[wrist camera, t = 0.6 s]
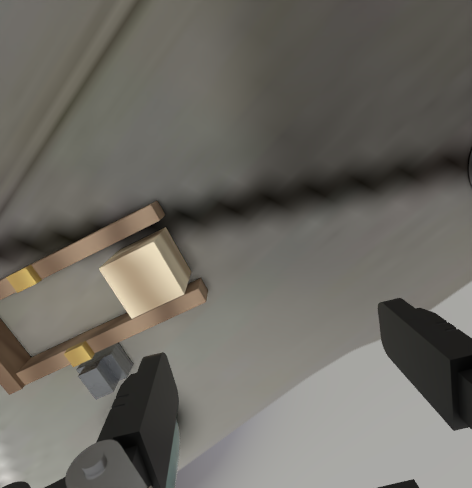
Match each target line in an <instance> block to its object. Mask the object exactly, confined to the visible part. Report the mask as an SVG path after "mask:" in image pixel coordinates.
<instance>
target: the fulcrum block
mask: <svg viewBox="0 0 472 488" xmlns="http://www.w3.org/2000/svg"><path fill="white" fill-rule="evenodd" d="M132 366H133V363H132V362H131V360H130V359H129V357H128V356H127V355H126V353H125V352H124V350H123V349H122V347H121V346H120V344H119V343H116V344H114V345H111V346H109V347H107V348H105V349H103V350H101V351H98V352H96V353H95V354H94V356H93V357H92V359H90V360H88V361H86V362H84V363H81V364H80V365H79V367H78V368H77V371H78V373H79V376H78V377H79V378H80V379H81V381H82V382H83V383H84V385H85V386H86V387H87V389H88V390H89V391H90V393H91V394H92V395H93V397H94V398H95V399H98V398H100V397H103V396H105V395H107V394H109V393H112V392H114V390H115V388H116V386H117V384H118V381H120V380H122V379H124V378H126V377H128V374H129V372H130V370H131V368H132Z"/></svg>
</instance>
